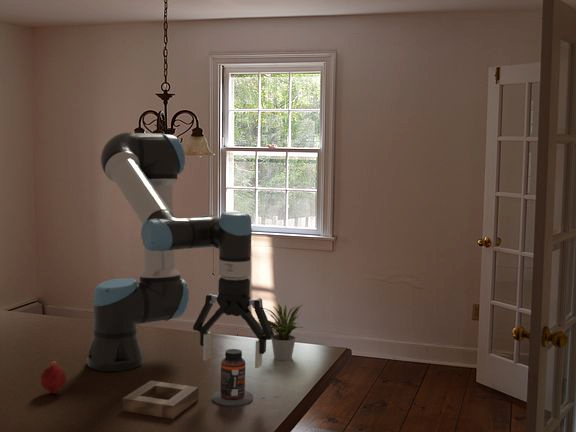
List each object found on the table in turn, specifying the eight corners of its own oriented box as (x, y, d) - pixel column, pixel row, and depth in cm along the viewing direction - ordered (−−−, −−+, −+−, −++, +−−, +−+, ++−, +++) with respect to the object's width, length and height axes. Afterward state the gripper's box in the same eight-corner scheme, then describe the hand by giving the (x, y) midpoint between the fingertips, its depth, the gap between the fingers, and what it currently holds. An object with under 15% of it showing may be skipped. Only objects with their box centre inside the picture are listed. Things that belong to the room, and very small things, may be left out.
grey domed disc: (205, 402, 163) (205, 400, 163) (221, 389, 172) (221, 386, 172) (243, 408, 160) (244, 406, 160) (258, 394, 169) (258, 392, 169)
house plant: (281, 346, 211) (282, 295, 209) (317, 356, 202) (318, 302, 200) (250, 357, 200) (251, 302, 198) (286, 367, 191) (288, 310, 189)
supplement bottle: (241, 401, 162) (242, 355, 161) (217, 399, 164) (218, 353, 162) (247, 393, 168) (248, 348, 167) (224, 390, 169) (225, 346, 168)
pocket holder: (122, 410, 157) (122, 398, 156) (150, 392, 169) (150, 380, 169) (173, 418, 153) (173, 405, 152) (198, 399, 165) (198, 387, 165)
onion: (51, 399, 163) (51, 367, 162) (35, 394, 166) (35, 362, 165) (71, 392, 168) (70, 360, 167) (55, 387, 171) (55, 356, 170)
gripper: (180, 274, 163) (179, 360, 166) (278, 284, 156) (275, 374, 158) (194, 269, 171) (192, 351, 173) (288, 278, 163) (285, 364, 165)
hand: (232, 362), depth 165 cm, fingers open, 13 cm apart
